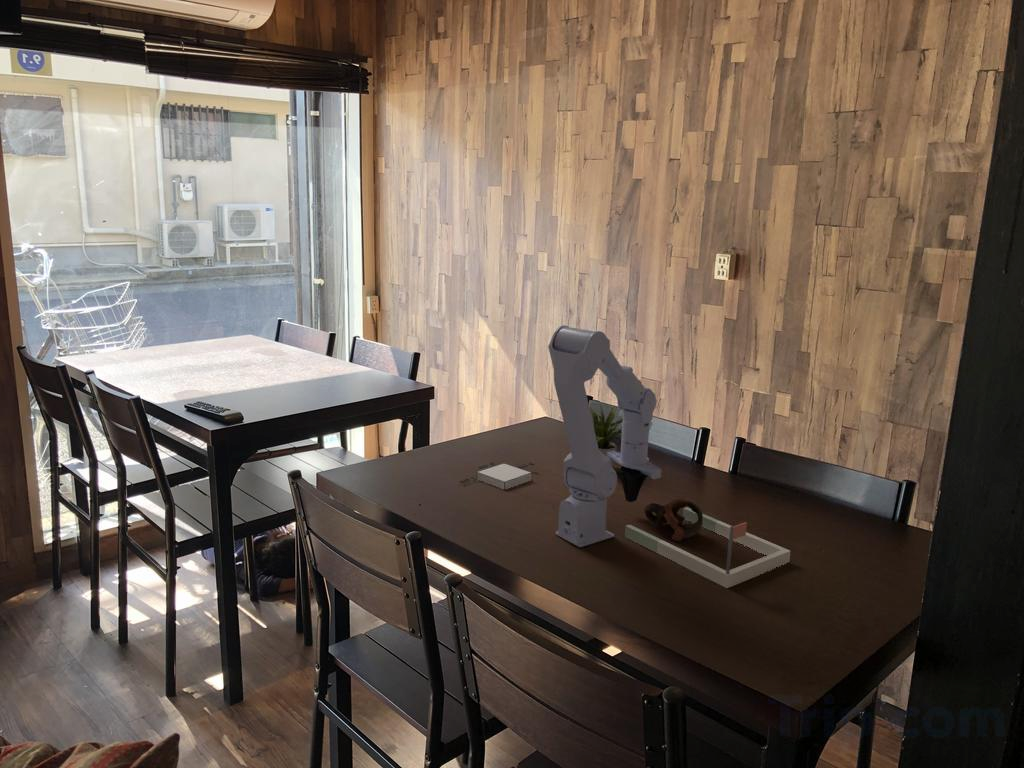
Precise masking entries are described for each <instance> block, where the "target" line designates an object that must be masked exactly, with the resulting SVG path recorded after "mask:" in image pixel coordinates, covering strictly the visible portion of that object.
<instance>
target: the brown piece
mask: <svg viewBox="0 0 1024 768" xmlns="http://www.w3.org/2000/svg"><path fill="white" fill-rule="evenodd" d="M686 507H688V508H690V509H692V511H693V512H695V513H697V515H698V521H697V522H695V523H684V521H686V520H685V517H683V515H681V514H679V513H678V512H679V510H680V509H683V508H686ZM643 511H644V516H645V517H646V519H648V521H650V522H651V523H652V524H653V525H654V526H653V527H655V529H658V528H659V526H660V527H661V526H662V525H664V524H667V523H668V524H669V526H670V527H671V528H672V529H673V530H674V533H673V534H672V535H671V539H672V540H673V541H675V542H676V541H679V542H681V541H682V539H687V538H690V537H693V536H695V535H698V534H699V532H700V531H701V530H702V529H703V528H702V524H703V522H702V519H703V515H702V514H703V512H702V510H701V508H700V507H699V506H698V505H697V504H696V503H694V502H693V501H690V500H687V499H684V498H679V499H678V498H676V499H674V500H672V501H670V502H669V503H667V504H665V505H661V504H658V503H655V502H654V503H653V502H651V503H649V504H647V505H646V506H645V508H644V509H643ZM679 524H682V525H683V526H681V525H679Z"/></svg>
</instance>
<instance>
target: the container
mask: <svg viewBox="0 0 1024 768" xmlns="http://www.w3.org/2000/svg"><path fill="white" fill-rule="evenodd" d="M489 465H490V466H491V467H489ZM529 465H531V466H535V463H534V462H528V464H523V465H519V466H517V467H516V466H513V465H510V464H508V463H504V462H503V463H501V464H497V465H496V463H494V462H490V463H489V464H484V465H482V466H481V465H480V466H478V467H477V468H478V469H480V470H479V471H476V477H475V476H471V477H470V478H465V479H463V480H458V483H461V484H464V483H467V482H470V481H471V480H470V479H473V480H475V481H479V480H480V481H479V482H481V481H483V482H482V483H484V482H485V483H484V484H487V483H488V484H487V485H489V484H491V485H490V486H492V485H493V486H492V487H495V486H496V487H495V488H498V487H499V488H498V489H500V488H501V489H500V490H503V489H504V490H503V491H506V490H508V488H509V489H511V487H512V488H514V486H515V487H517V486H520V485H522V483H523V484H525V482H526V483H528V481H529V482H531V481H532V480H533V479H532V478H533V472H531V471H528V470H525V469H524V468H528V466H529ZM485 468H486V469H485ZM519 484H520V485H519ZM505 489H506V490H505Z"/></svg>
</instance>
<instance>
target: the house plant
mask: <svg viewBox="0 0 1024 768" xmlns="http://www.w3.org/2000/svg"><path fill="white" fill-rule="evenodd" d="M599 407H600V415H598V414H597V413H596V412H595V411H594V409H592V408H591V407H589V408H590V413H591V417H592V422H593V426H594V431H595V435H596V440H597V444H598V449H599V450H600V451H601V452H602V453H603V454H604V455H605V456H606V457H607V452H611V451H616V452H617V448H618V446H617V444H616V443H614V441H615V440H616V439H618V438H619V437H621V438H622V428H620V429H618V428H617V427H618V426H619V425H620V424H621V423H622V421H623V416H621V418H619V419H618V420H616V421H615V422H614V419H615V414H616V412H617V409H615V410H614V406H612V407H611V410H610V411H609V413H608V415H607V416H606V419H605V415H604V412H603V411H604V410H603V408H602V406H599ZM614 437H615V438H614ZM613 464H614V462H613V461H611V466H612V467H613V466H614V465H613Z"/></svg>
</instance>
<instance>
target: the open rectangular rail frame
mask: <svg viewBox="0 0 1024 768" xmlns="http://www.w3.org/2000/svg"><path fill="white" fill-rule="evenodd" d="M702 515H703V519H702V522H703V524H702V527H704V528H706V529H708V530H707V531H709V530H711V531H713V532H715V533H717V534H716V535H718V534H719V535H718V536H720V535H722V536H724V537H726V538H725V539H727V538H728V539H727V540H728V544H727V545H728V546H727V555H726V556H727V558H726V568H725V569H723V568H721V567H720V566H717V565H715V564H713V563H711V562H709V561H706V560H705V559H702V557H701V558H700V557H699V556H696V555H694V554H693V553H690V552H688V551H686V550H684V549H682V548H680V547H677V546H676V545H673V544H671V543H669V542H667V541H665V540H662V539H661V538H658V537H656V536H655V535H653V534H650V533H649V532H646V531H644V530H642V529H640V528H638V527H636V526H633V525H631V524H627V525H625V530H624V531H625V532H624V538H625V539H627V540H630V541H632V542H634V543H635V544H637V543H638V545H640V546H641V545H642V547H643V546H644V548H645V547H646V549H647V548H648V550H649V549H650V550H649V551H651V550H652V552H653V551H654V553H655V552H656V554H657V553H658V554H657V555H659V554H660V556H661V555H662V556H661V557H663V556H664V558H665V557H666V559H667V558H668V560H669V559H670V560H669V561H671V560H672V562H673V561H674V562H673V563H675V562H676V563H675V564H678V565H680V566H681V567H683V568H685V569H688V570H689V571H691V572H693V573H696V574H697V575H699V576H702V577H704V579H705V578H706V579H707V580H710V581H712V582H713V583H716V584H717V585H719V586H722V587H724V588H726V589H728V588H731V587H734V586H736V585H739V584H741V583H743V582H746V581H748V580H750V579H753V578H756V577H758V576H760V574H761V575H763V574H765V572H766V573H768V572H770V571H773V570H775V569H777V568H776V567H778V568H780V567H782V566H781V565H783V566H785V565H787V564H786V563H788V562H789V563H790V561H791V560H790V559H791V550H789V549H787V548H785V547H782V546H780V545H777V544H775V543H773V542H771V541H768V540H766V539H763V538H761V537H758V536H757V535H754V534H751V533H749V532H748V531H747V525H748V522H746V521H745V522H742V523H738V524H736V525H730V524H729V523H728V524H727V523H726V522H723V521H721V520H718V519H717V518H714V517H711V516H709V515H707V514H704V513H702ZM682 516H683V517H685V520H684V521H686V520H687V521H686V522H688V521H690V522H692V523H691V524H693V523H695V522H697V521H698V515H697V513H695V512H693V511H692V509H691V508H690V507H688V506H686V507H684V508H682ZM690 522H689V523H690ZM704 528H703V529H704ZM706 529H705V530H706ZM711 531H710V532H711ZM713 532H712V533H713ZM715 533H714V534H715ZM722 536H721V537H722ZM724 537H723V538H724ZM732 540H733V541H732ZM734 541H735V542H734ZM733 542H734V543H736V542H738V543H740V544H743V545H744V546H743V545H742V546H743V547H745V546H747V547H749V548H751V549H750V550H752V549H753V550H752V551H754V550H755V551H754V552H756V551H757V552H756V553H759V554H761V553H762V554H761V555H763V554H764V555H763V557H760V558H757V559H755V560H752V561H750V562H748V563H745V564H743V565H740V566H736V567H735V568H731V558H732V549H733ZM738 543H737V544H738ZM740 544H739V545H740ZM747 547H746V548H747ZM749 548H748V549H749ZM765 555H767V556H765ZM789 563H788V564H789ZM784 564H785V565H784ZM779 566H780V567H779ZM730 568H731V569H730ZM774 568H775V569H774ZM772 569H773V570H772ZM767 571H768V572H767Z"/></svg>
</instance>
